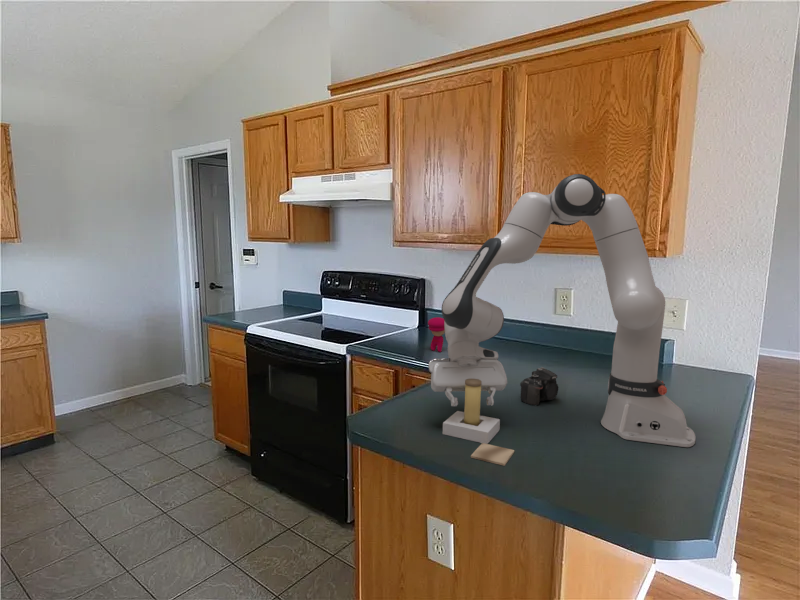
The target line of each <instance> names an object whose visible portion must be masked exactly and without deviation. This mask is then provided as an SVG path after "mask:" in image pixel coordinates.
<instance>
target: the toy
mask: <svg viewBox="0 0 800 600" xmlns="http://www.w3.org/2000/svg"><path fill="white" fill-rule="evenodd" d="M427 325H428V330H429V331H431V333H432V335H434V336H432V339H431V343H430V350H431V351H433V352H434V351H436V349H437V352H439V353H441V352H442V351H443V345H444V337H443V335H445V327H444V318H443V317H439V316H438V317H432V318H430V319H428V321H427Z"/></svg>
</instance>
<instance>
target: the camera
mask: <svg viewBox="0 0 800 600" xmlns="http://www.w3.org/2000/svg"><path fill="white" fill-rule="evenodd" d="M557 378H558V375H557V374H556V373H555V372H553V371H551V370H549V369H547V368H545V367H543V366H541V367H540V368H539V367H537V369H536V370H533V371H531V375H530V377H527V378H524V379H523V380H522V381H521V382H520V384H519V385H520V398H521V399H520V400H521V401H522V402H523V403H525V404H527V405H530V406H535V405H537V406H540V405H539V404H540V402H543V401H552V400H554V399H555V398H556V397H557V396H558V393H559V384H558V383H557Z"/></svg>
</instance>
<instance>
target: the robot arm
mask: <svg viewBox="0 0 800 600" xmlns="http://www.w3.org/2000/svg"><path fill="white" fill-rule="evenodd" d="M505 219H506V220H505V221H504V223H503V225H502V228H501V229H500V231H499V232H498V233H497V234H496V235H495V236H494V237H492V238H488V239H487V240H486V241H484V243H483V244H482V245H481V246H480V248H479V250H478V251H477V252H476V254H475V255H474V257H473V258H472V260H471V261H470V263H469V265H468V266H467V268H466V269H465V271H464V272H463V274H462V275H461V277H460V278H459V280H458V282H457V283H456V284H455V286H454V287H453V288H452V289H451V290H450V292H449V293H447V295H446V296H445V298H444V299H443V301H442V304H441V314H442V318H443V319H444V327H445V333H444V335H445V340H446V342H447V356H448V358H447V357H446V358H444V357H443V358H433V359H431V360H430V361H429V362H428V365H427V366H428V371H429V372H430V373H431V374H430V387H431V390H432V391H433V392H434V393H437V392H438V393H440V392H443V393H445V396H446V397H447V399H448V400H449V401H450V406H451V407H458V405H459V401H458V397H455V396H454V395H453V394H452V392H465V380H466V379H479V380H481V381H482V385H481V392H488V394H489V395H490V396H487V397H486V399H485V402H486V406H494V403H495V401H494V396H495V393H496V391H499V392H500V391H503V390H504V389H505V388H506V387H507V385H508V376H507V373H506V371H505V368H504V365H503V363H501V361H499V360H498V359H499V353H498V351H494V350H492V349H488V348H485V347H481V346H480V345H479V343H481V342H486V341H487V340H490V339H492V338H494V337H496V336H497V335H498V334H499V333H500V332H501V331H502V329H503V326H504V324H505V322H504V321H505V315H504V312H503V310H502V309H501V307H500V306H497V305H495V304H493V303H491V302H489V301H487V300H484V299H482V298H480V297H478V296H477V292H478V291H479V290H480V287H481V286H482V284H483V283H484V281H485V280H486V279H487V276H488V275H489V273H490V272H491V270H492V269H493V268H494V267H496V266H498V265H502V264H512V265H513V264H514V265H515V264H522V263H525V262H527V261H529V260H530V259H532V258H533V257H534V256H535V254H537V251H538V250H539V248H540V245H541V244H542V242H543V239H544V236H545V234H546V232H547V230H548V229H549V227H550V225H553V226H554V225H556V226H562V227H563V226H564V227H565V226H566V227H567V226H572V225H575V224H577V223H579V222H581V221H582V222H584V223H585V224H586V225H587V226H588V227H589V230H590V231H591V232H592V236H593V240H594V242H595V246H596V249H597V253H598V257H599V258H600V261H601V264H602V268H603V271H604V275H605V281H606V285H607V286H606V287H607V291H608V292H607V293H608V296H609V299H610V303H611V308H612V311H613V316H614V318H615V320H616V321H617V326H616V330H615V337H614V341H613V347H612V348H613V349H612V361H611V372H610V373H609V377H608V381H607V382H608V383H607V394H608V398H607V401H606V406H605V410H604V413H603V415H602V418H601V420H600V423H601V425H602V427H604V428H605V429H607V430H608V431H610V432H612V433H614V434H617V435H618V436H619V437H620V438H622V439H624V440H627V441H635V442H643V443H652V444H658V445H666V446H667V445H668V446H674V447H682V448H690V447H693V446H694V445H695V444H696V433H695V432H694V430H693V429H692V428H691V427H690V426H688V425H687V419H686V416H685V413H684V411H683V409H682V408H681V407H679V406H678V405H677V404H676V403H674V402H673V401H672V399H670V398H669V397H667V396H666V394H667V392H668V388H667V386H666V384H665V383H664V380H660V379H658V372H659V371H658V369H659V359H660V351H661V349H660V348H661V341H662V335H663V327H664V320H665V319H664V317H665V311H666V298H665V295H664V293H663V291H662V290H661V289H660V288H659V287H658V286H657V285H656V282H655V280H654V276H653V275H654V274H653V271H652V267H651V262H650V259H649V256H648V255H649V254H648V251H647V248H646V246H645V243H644V240H643V237H642V234H641V232H640V231H641V230H640V228H639V225H638V223H637V220H636V217H635V215H634V213H633V211H632V209H631V207H630V205H629V203H628V202H627V200H626V199H625V197H624V196H623V195H620V194H617V193H607V194H606V192H605V190H604V189H603V188H601V187H600V186H599V185H598V184H597V183H596V182H595V181H594V179H592V178H591V177H589V176H588V175H586V174H582V173H576V174H575V173H574V174H571V175H570V174H569V175H568V176H566V177H564V178H563V179H561V180H560V181H559V183H558V184H557V185H556V186H555V187H554V189H553V190H552V192H551V193H549V194H542V193H541V192H537V191H535V192H534V191H529V192H526V193H523V194H522V195H521V196H520V197H519V198H518V200H517V201H516V202H515V204H514V206H513V207H512V209H511V210H510V212H509V214H508V216H507V218H505Z"/></svg>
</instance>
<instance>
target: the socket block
mask: <svg viewBox="0 0 800 600" xmlns="http://www.w3.org/2000/svg"><path fill="white" fill-rule="evenodd" d="M500 424H501V419H499V418H497V417H496V418H495V417H489V416H485V415H481V414H480V423H479V425H478V426H474V425H469V424H465V423H464V411H460V410H457V411H456V412H454V413H453V414H452V415H450V416H449V417H448V418H447V419H446V420H445V421H443V422H442V435H446V436H450V437H453V438H459V439H464V440H467V441H471V442H477V443H481V444H482V443H485V444H489V443H490V442H491V441H492V440H493V438H495V436H496V435H497V434H498V433H499V431H500V430H501V429H500V427H501V425H500Z"/></svg>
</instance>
